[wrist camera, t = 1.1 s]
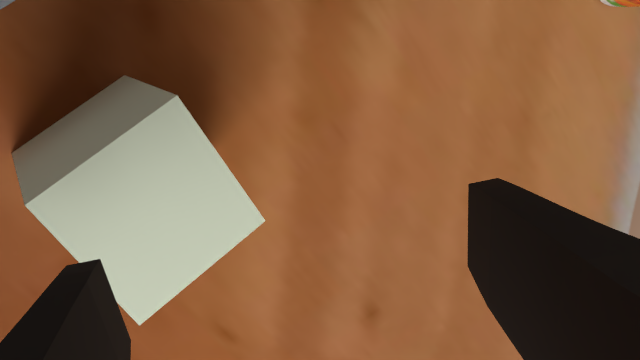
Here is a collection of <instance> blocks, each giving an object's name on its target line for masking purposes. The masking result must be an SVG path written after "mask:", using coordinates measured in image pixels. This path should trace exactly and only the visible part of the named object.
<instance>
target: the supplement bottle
mask: <svg viewBox="0 0 640 360" xmlns="http://www.w3.org/2000/svg"><path fill="white" fill-rule="evenodd" d="M600 1H601V2H603V3H604V4H606V5H609V6H616V7H620V6H621V7H633V6H640V0H600Z"/></svg>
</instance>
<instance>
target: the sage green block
mask: <svg viewBox="0 0 640 360" xmlns="http://www.w3.org/2000/svg"><path fill="white" fill-rule="evenodd" d="M12 157H13V161H14V165H15V169H16V173H17V177H18V181H19V185H20V188H21V192H22V196H23V200H24V204H25V206H26V207H27V208H28V209H29V210H30V211H31V212H32V213H33V214H34V216H35V217H36V218H37V219H38V220H39V221H40V222H41V223H42V224H43V225H44V226H45V227H46V228H47V229H48V230H49V231H50V232H51V233H52V234H53V235H54V237H55V238H56V239H57V240H58V241H59V242H60V243H61V244H62V245H63V246H64V247H65V248H66V249H67V250H68V251H69V252H70V253H71V254H72V255H73V256H74V257H75V259H76V260H77V261H78V262H79V263H82V262H87V261H92V260H97V259H100V260H101V262H102V265H103V268H104V270H105V273H106V276H107V278H108V281H109V284H110V286H111V289H112V291H113V294H114V297H115V299H116V302H117V303H118V304H119V305H120V306H121V307H122V308H123V309H124V310H125V311H126V312H127V313H128V314H129V315H130V316H131V317H132V318H133V319H134V320H135V321H136V323H137V324H138V325H139V326H140V325H141V324H142V323H143V322H144V321H146V320H147V319H148V318H149V317H150V316H152V315H153V314H154V313H155V312H156V311H158V310H159V309H160V308H161V307H162V306H164V305H165V304H166V303H167V302H168V301H170V300H171V299H172V298H173V297H174V296H176V295H177V294H178V293H179V292H180V291H182V290H183V289H184V288H185V287H186V286H188V285H189V284H190V283H191V282H192V281H194V280H195V279H196V278H197V277H198V276H200V275H201V274H202V273H203V272H205V271H206V270H207V269H208V268H209V267H211V266H212V265H213V264H214V263H215V262H217V261H218V260H219V259H220V258H221V257H223V256H224V255H225V254H226V253H227V252H229V251H230V250H231V249H232V248H233V247H235V246H236V245H237V244H238V243H239V242H241V241H242V240H243V239H244V238H245V237H247V236H248V235H249V234H250V233H251V232H253V231H254V230H255V229H256V228H257V227H259V226H260V225H261V224H262V223H263V222H265V220H264V218H263V217H262V215H261V214H260V213H259V211H258V210H257V208H256V207H255V205H254V204H253V203H252V201H251V200H250V198H249V197H248V195H247V194H246V193H245V191H244V190H243V188H242V187H241V185H240V184H239V183H238V181H237V180H236V178H235V177H234V175H233V174H232V173H231V171H230V170H229V168H228V167H227V165H226V164H225V163H224V161H223V160H222V158H221V157H220V155H219V154H218V153H217V151H216V150H215V148H214V147H213V146H212V144H211V143H210V141H209V140H208V138H207V137H206V136H205V134H204V133H203V131H202V130H201V128H200V127H199V126H198V124H197V123H196V121H195V120H194V118H193V117H192V116H191V114H190V113H189V111H188V110H187V108H186V107H185V106H184V104H183V103H182V101H181V100H180V98H179V97H178V96H177V95H175V94H173V93H170V92H167V91H165V90H162V89H160V88H157V87H154V86H152V85H149V84H147V83H144V82H141V81H139V80H136V79H133V78H131V77H128V76H126V75H124V76H122V77H121V78H119V79H118V80H117V81H115V82H114V83H112V84H111V85H109V86H108V87H106V88H105V89H104V90H102V91H101V92H99V93H98V94H96V95H95V96H93V97H92V98H91V99H89V100H88V101H86V102H85V103H83V104H82V105H80V106H79V107H77V108H76V109H75V110H73V111H72V112H70V113H69V114H67V115H66V116H64V117H63V118H62V119H60V120H59V121H57V122H56V123H54V124H53V125H51V126H50V127H49V128H47V129H46V130H44V131H43V132H41V133H40V134H38V135H37V136H36V137H34V138H33V139H31V140H30V141H28V142H27V143H25V144H24V145H22V146H21V147H20V148H18V149H17V150H15V151H14V152H12Z"/></svg>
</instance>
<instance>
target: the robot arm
mask: <svg viewBox="0 0 640 360" xmlns="http://www.w3.org/2000/svg"><path fill="white" fill-rule="evenodd" d="M468 267H469V270H470V272H471V274H472V276H473V278H474V280H475V282H476V284H477V286H478V288H479V290H480V292H481V294H482V296H483V298H484V300H485V302H486V304H487V306H488V308H489V309H490V311H491V312H492V314H493V315H494V317H495V318H496V320H497V321H498V323H499V324H500V326H501V327H502V329H503V330H504V332H505V333H506V334H507V336H508V337H509V339H510V340H511V342H512V343H513V345H514V346H515V348H516V349H517V351H518V352H519V353H520V355H521V356H522V358H523V359H524V360H640V239H638V238H636V237H633V236H631V235H628V234H625V233H623V232H620V231H618V230H615V229H613V228H610V227H608V226H605V225H603V224H601V223H598V222H596V221H594V220H591V219H589V218H587V217H584V216H582V215H580V214H578V213H575V212H573V211H571V210H569V209H567V208H564V207H562V206H560V205H558V204H556V203H553V202H551V201H549V200H547V199H545V198H543V197H541V196H538V195H536V194H534V193H532V192H530V191H528V190H525V189H523V188H521V187H519V186H516V185H514V184H512V183H509V182H507V181H504V180H502V179H499V178H496V179H491V180H486V181H481V182H476V183H471V184H469V193H468ZM130 355H131V339H130V337H129V334H128V331H127V329H126V326H125V323H124V321H123V318H122V315H121V313H120V310H119V307H118V305H117V302H116V299H115V297H114V294H113V291H112V289H111V286H110V284H109V281H108V278H107V276H106V273H105V270H104V268H103V265H102V262H101V260H100V259H97V260H92V261H87V262H82V263H77V264H72V265H67V266H66V267H65V268H64V269H63V270H62V271H61V272H60V273H59V275H58V276H57V277H56V278H55V279H54V280H53V282H52V283H51V284H50V285H49V286H48V287H47V289H46V290H45V291H44V292H43V293H42V295H41V296H40V297H39V298H38V299H37V301H36V302H35V303H34V304H33V305H32V307H31V308H30V309H29V310H28V311H27V312H26V314H25V315H24V316H23V317H22V318H21V319H20V321H19V322H18V323H17V324H16V325H15V326H14V328H13V329H12V330H11V331H10V332H9V333H8V334H7V336H6V337H5V338H4V339H3V340H2V341H1V343H0V360H130Z"/></svg>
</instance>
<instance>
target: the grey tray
mask: <svg viewBox="0 0 640 360" xmlns="http://www.w3.org/2000/svg"><path fill="white" fill-rule="evenodd" d="M13 1H15V0H0V9H2V8H4V7H5V6H7V5H8V4H10V3H12V2H13Z"/></svg>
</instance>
